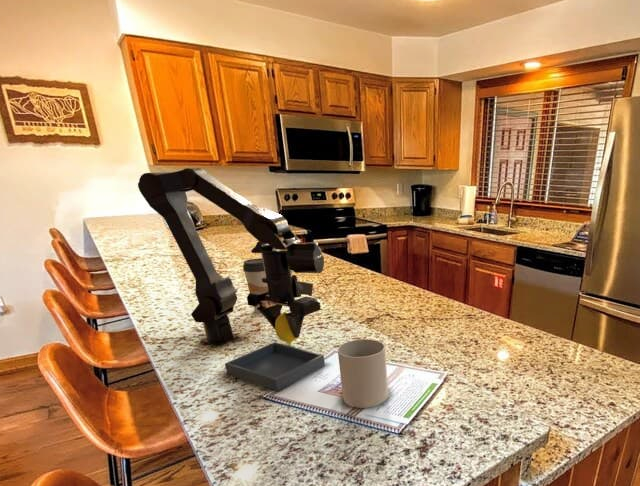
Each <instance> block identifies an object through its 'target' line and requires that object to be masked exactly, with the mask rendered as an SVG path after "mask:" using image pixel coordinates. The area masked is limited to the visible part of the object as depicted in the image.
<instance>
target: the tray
mask: <svg viewBox="0 0 640 486" xmlns="http://www.w3.org/2000/svg"><path fill="white" fill-rule="evenodd" d="M325 363H326V362H325V356H324V354H321V353H317V352H315V351H309V350H305V349H302V348H298V347H294V346H290V345H287V344H282V343H279V342H272V343H270V344H268V345H265V346H263V347H260V348H258V349H256V350H254V351H251V352H249V353H247V354H243V355H242V356H239V357H237V358H235V359H232V360H230V361H227V362H225V363H224V366H225V367H224V368H225V371H226V375H228V376H231V377H234V378H237V379H241V380H244V381H246V382H248V383H249V382H250V383H252V384H256V385H258V386H261V387H265V388H267V389H271V390H273V391H275V392H278V391H280V390H282V389H284V388H286V387H288V386H289V385H292V384H293V383H295V382H297V381H299V380H300V379H302V378H304V377H306V376H308V375H310V374H313V372H316V371H317V370H319V369H321V368H323V367H325V366H326V364H325Z"/></svg>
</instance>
